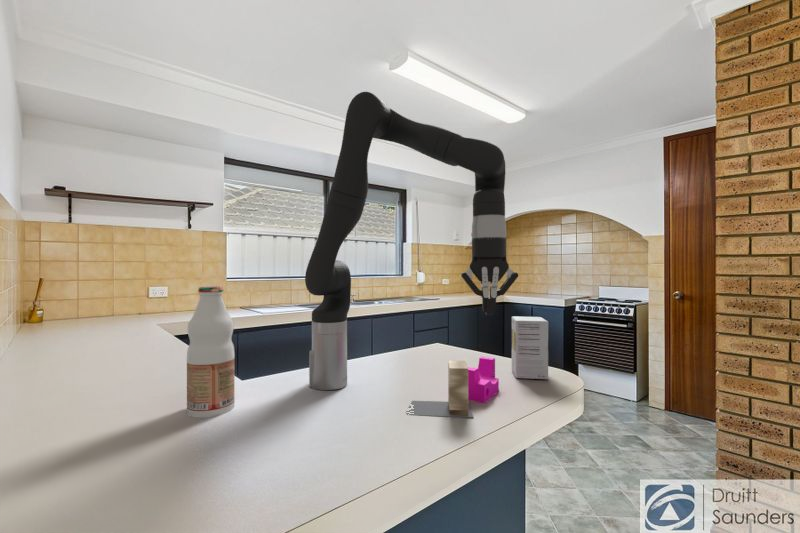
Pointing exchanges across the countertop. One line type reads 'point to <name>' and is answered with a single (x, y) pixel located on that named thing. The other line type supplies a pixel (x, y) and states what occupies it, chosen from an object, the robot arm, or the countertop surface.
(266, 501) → the countertop surface
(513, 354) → the supplement box
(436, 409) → the mat
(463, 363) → the ash block
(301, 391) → the countertop surface
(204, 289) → the fruit juice
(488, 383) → the toy block
